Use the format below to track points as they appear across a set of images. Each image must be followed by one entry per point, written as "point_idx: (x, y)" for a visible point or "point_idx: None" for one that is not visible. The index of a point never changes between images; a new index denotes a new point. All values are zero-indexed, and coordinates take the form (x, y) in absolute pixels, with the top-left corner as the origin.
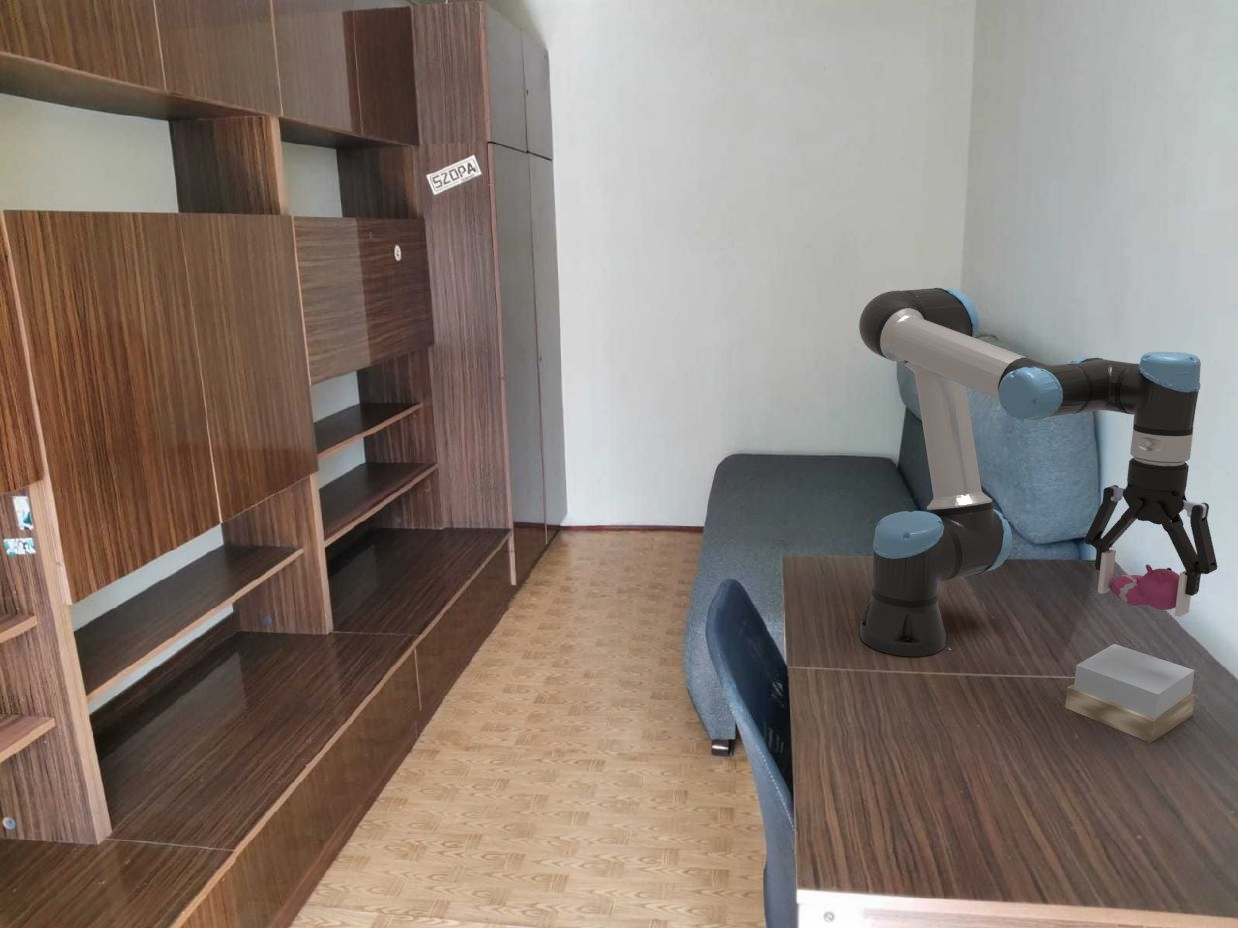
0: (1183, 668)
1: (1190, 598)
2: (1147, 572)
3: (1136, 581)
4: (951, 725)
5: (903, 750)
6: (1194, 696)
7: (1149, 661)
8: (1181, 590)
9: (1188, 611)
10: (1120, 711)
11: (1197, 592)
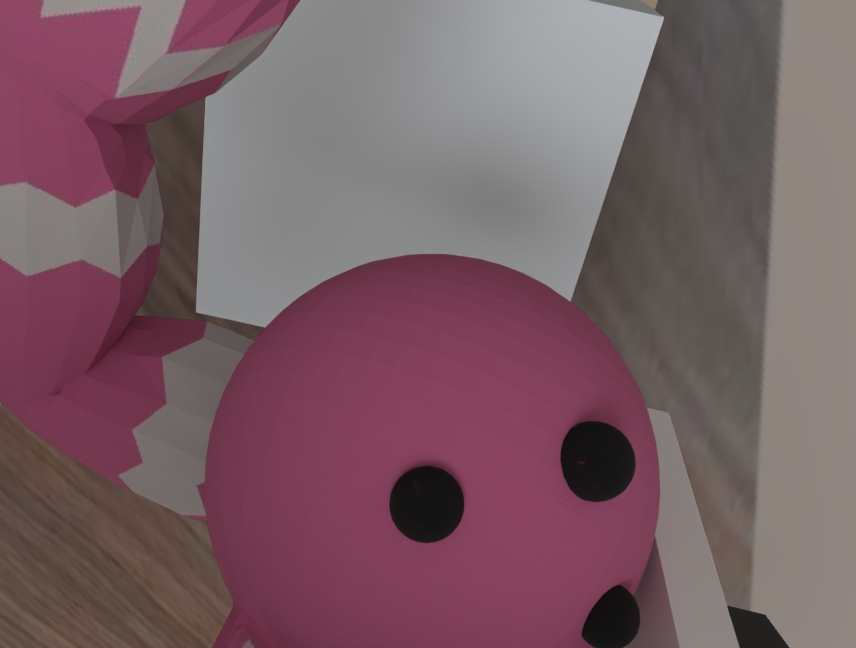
0: (607, 31)
1: (695, 505)
2: (231, 590)
3: (120, 194)
4: (77, 509)
5: (80, 642)
6: (655, 2)
7: (439, 58)
8: None
9: (667, 421)
10: None
11: (775, 632)
